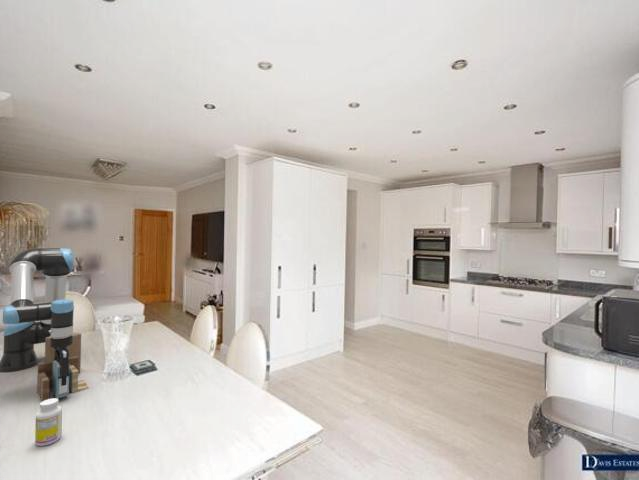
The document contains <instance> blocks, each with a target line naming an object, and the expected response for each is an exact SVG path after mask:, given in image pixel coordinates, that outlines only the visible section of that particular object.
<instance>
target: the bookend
mask: <svg viewBox="0 0 639 480" xmlns="http://www.w3.org/2000/svg"><path fill="white" fill-rule="evenodd" d="M89 387H90V386H89V385H88V384H87V383H86V382H85V380H79V374H78V370H77V369H76V368H75V367H74V366H73V365H71V366H70V371H69V392H71V393H72V394H74V393H77V392H80V391H84V390H87V389H89Z"/></svg>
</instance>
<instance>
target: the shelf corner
mask: <svg viewBox="0 0 639 480" xmlns="http://www.w3.org/2000/svg"><path fill="white" fill-rule="evenodd" d="M68 359H69V364H70V366H71V365H73V366H74V367H75V368H76V369H77V370H78V356H76V357H72V358H68ZM52 373H53V361H52V362H48V363H45V362H43V363H40V364H38V363H37V377H36V378H37V382H36V394H37V395H38V397H39V399H40V402H43V401H45V400H48V399H50V391H52Z"/></svg>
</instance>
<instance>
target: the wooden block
mask: <svg viewBox="0 0 639 480" xmlns="http://www.w3.org/2000/svg"><path fill="white" fill-rule="evenodd" d="M72 336H73V343H72V344H71V345H69V346H67V347H66V348H67V350H68V352H69V356H68V358H72V357H76V356H78V375H79V374H80V373H81V366H82V365H81V363H82V362H81V359H82V357H81V356H82V333H80V332H73V334H72ZM51 338H52V337H51V336H50V337H46V338H45V343H44V351H45V352H44V363H48V362H52V361H54V352H55V348H51V347H50V339H51Z"/></svg>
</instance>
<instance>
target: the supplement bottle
mask: <svg viewBox="0 0 639 480" xmlns="http://www.w3.org/2000/svg"><path fill="white" fill-rule="evenodd" d="M62 424H63V408H62V406H61V405H59V398H56V397H55V398H53V397H52V398H49V399H48V400H45V401H43V402H42V401H40V403H39V410H38V411H37V412H36V414H35V427H34V429H35V430H34V431H35V434H34V436H35V438H34V442H35V445H36V446H39V447H43V446H44V447H45V446H47V445H51V444H54V443H55V442H58V441H59V439H61V438H62V434H63V433H62V431H63V430H62V429H63V428H62V427H63V425H62Z"/></svg>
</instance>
